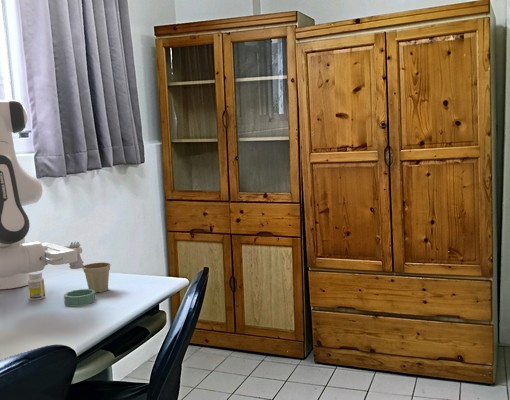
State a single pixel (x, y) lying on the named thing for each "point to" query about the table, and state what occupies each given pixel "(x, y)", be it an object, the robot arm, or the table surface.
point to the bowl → (79, 297)
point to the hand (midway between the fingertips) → (78, 249)
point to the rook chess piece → (79, 262)
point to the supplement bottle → (36, 286)
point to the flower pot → (97, 276)
